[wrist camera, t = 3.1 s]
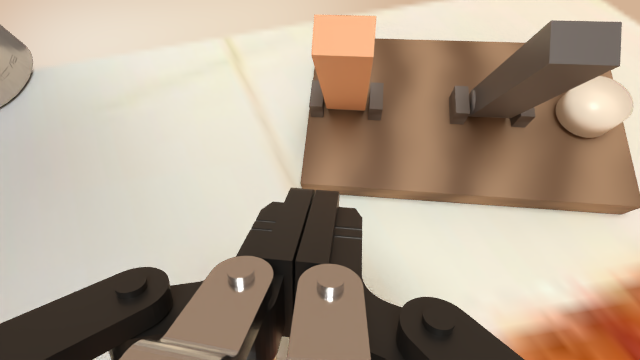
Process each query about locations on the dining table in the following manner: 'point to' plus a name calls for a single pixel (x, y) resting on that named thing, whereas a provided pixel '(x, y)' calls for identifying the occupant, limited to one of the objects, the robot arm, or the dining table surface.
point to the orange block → (344, 59)
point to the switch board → (460, 139)
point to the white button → (594, 107)
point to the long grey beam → (548, 67)
